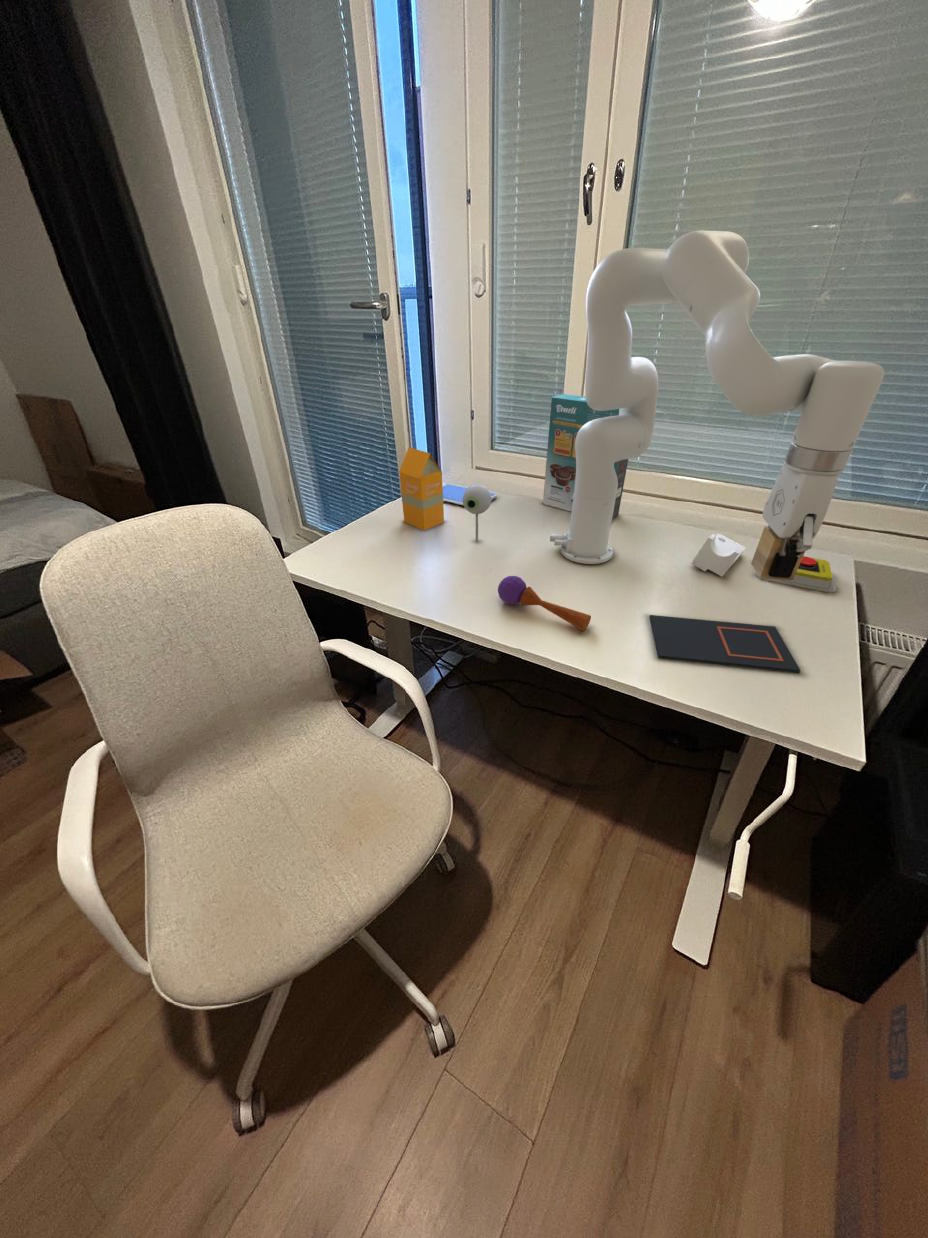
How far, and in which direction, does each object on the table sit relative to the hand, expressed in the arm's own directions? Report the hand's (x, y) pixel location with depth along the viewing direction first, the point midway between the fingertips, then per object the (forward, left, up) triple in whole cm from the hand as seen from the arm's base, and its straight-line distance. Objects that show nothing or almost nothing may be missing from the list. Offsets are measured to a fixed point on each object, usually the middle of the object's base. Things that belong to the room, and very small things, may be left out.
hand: (773, 566), depth 80 cm
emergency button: (+18, +28, -16) cm, 37 cm away
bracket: (+3, +32, -16) cm, 36 cm away
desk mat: (-5, -1, -16) cm, 17 cm away
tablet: (-66, +64, -16) cm, 93 cm away
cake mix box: (-30, +60, -16) cm, 69 cm away
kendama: (-38, +3, -16) cm, 41 cm away
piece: (0, 0, -1) cm, 1 cm away
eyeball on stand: (-56, +34, -16) cm, 67 cm away
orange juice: (-73, +44, -16) cm, 87 cm away
